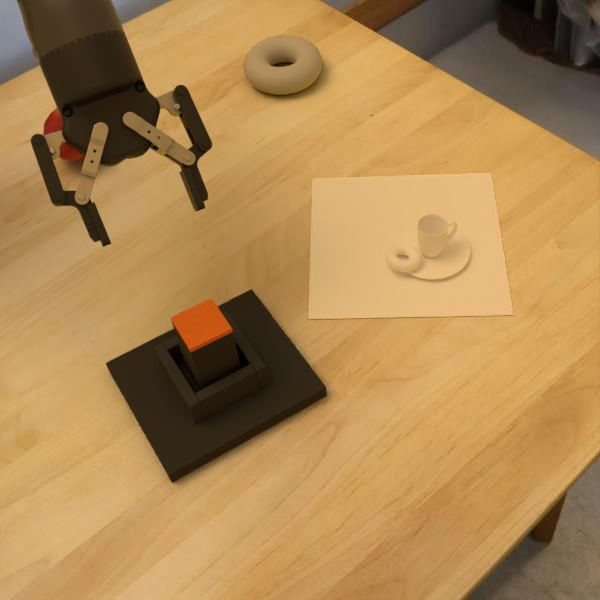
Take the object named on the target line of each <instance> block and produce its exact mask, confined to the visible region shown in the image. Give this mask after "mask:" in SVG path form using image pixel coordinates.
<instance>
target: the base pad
mask: <svg viewBox="0 0 600 600" xmlns="http://www.w3.org/2000/svg"><path fill="white" fill-rule="evenodd" d="M217 307H218V308H219V310H220V311H221V313H222V314H223V316H224V317H225V319H226V320H227V322H228V323H229V325H230V326H231V328H232V331H233V335H234V339H235V344H236V348H237V353H238V357H239V361H240V366H241V369H240V370H238V371H236V372H234V373H232V374H230V375H229V376H227V377H225V378H223V379H221V380H219V381H217V382H215V383H214V384H212V385H210V386H208V387H206V388H204V389H202V390H200V391H199V389H198V387H197V386H196V384H195V382H194V380H193V379H192V377H191V375H190V374H189V372H188V370H187V368H186V365H185V362H184V359H183V356H182V353H181V349H180V346H179V343H178V340H177V337H176V334H175V330H174V328H172V329H170V330H167V331H166V332H165V333H162V334H159V335H158V336H156V337H154V338H152V339H150V340H148V341H146V342H144V343H142V344H140V345H138V346H136V347H134V348H132V349H131V350H129V351H126V352H124V353H122V354H120V355H118V356H116V357H115V358H112V359H110V360H108V361H106V362H105V365H106V368H107V370H108V372H109V374H110V376H111V377H112V379H113V381H114V383H115V384H116V386H117V388H118V390H119V391H120V393H121V395H122V397H123V399H124V400H125V402H126V404H127V406H128V408H129V409H130V411H131V413H132V415H133V416H134V418H135V420H136V421H137V423H138V425H139V427H140V429H141V431H142V432H143V434H144V437H146V439H147V441H148V443H149V445H150V447H151V448H152V450H153V452H154V454H155V456H156V458H157V459H158V461H159V462H160V464H161V466H162V468H163V470H164V472H165V473H166V475H167V476H168V479H169V480H170V482H171V483H174V482H177V481H178V480H179V479H181V478H183V477H185V476H187V475H188V474H190V473H192V472H194V471H196V470H198V469H199V468H201V467H203V466H204V465H206V464H208V463H210V462H212V461H213V460H215V459H217V458H219V457H221V456H222V455H224V454H226V453H228V452H230V451H231V450H233V449H235V448H237V447H238V446H240V445H242V444H244V443H246V442H248V441H249V440H251V439H252V438H255V437H256V436H258V435H260V434H261V433H264V432H265V431H267V430H268V429H270V428H272V427H274V426H276V425H278V424H279V423H281V422H283V421H284V420H286V419H288V418H290V417H292V416H293V415H295V414H297V413H299V412H301V411H303V410H305V409H306V408H308V407H309V406H311V405H314V404H315V403H317V402H318V401H320V400H322V399H324V398H326V397H327V396H328V393H327V386H326V384H324V382H323V380H322V379H320V377H319V376H318V374H317V373H316V372H315V370H314V368H312V366H311V365H310V364H309V362H308V361H307V359H306V358H305V357H304V356H303V354H302V353H301V352H300V350H299V349H298V348H297V347H296V345H295V344H294V343H293V341H292V340H291V339H290V337H289V336H288V334H287V333H286V332H285V331H284V329H283V328H282V326H280V324H279V323H278V321H277V320H276V319H275V317H274V316H273V315H272V313H271V312H270V311H269V310H268V308H267V306H266V305H265V304H264V303H263V301H262V299H260V298H259V296H258V295H257V294H256V293H255V291H254V290H253V289H249V290H247V291H245V292H243V293H241V294H239V295H237V296H234V297H233V298H231V299H228V300H227V301H225V302H223V303H221V304H219V305H217Z"/></svg>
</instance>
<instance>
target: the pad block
mask: <svg viewBox="0 0 600 600" xmlns="http://www.w3.org/2000/svg"><path fill="white" fill-rule="evenodd" d="M217 306H218V305H217V304H216V302H215V301H214V299H213V298H212V297H211V298H208V299H207V300H204V301H202V302H200V303H198V304H196V305H193V306H192V307H189V308H188V309H186V310H183V311H181V312H179V313H177V314H175V315H173V316H171V317H170V320H171V324H172V327H173V329H174V330H175V334H176V337H177V340H178V343H179V346H180V349H181V353H182V356H183V359H184V362H185V365H186V368H187V370H188V372H189V374H190V375H191V377H192V379H193V380H194V382H195V384H196V386H197V387H198V389H199V391H200V390H202V389H204V388H206V387H208V386H210V385H212V384H214V383H215V382H217V381H219V380H221V379H223V378H225V377H227V376H229V375H230V374H232V373H234V372H236V371H238V370H240V369H241V366H240V361H239V357H238V353H237V348H236V344H235V339H234V335H233V331H232V328H231V326H230V325H229V323H228V322H227V320H226V319H225V317H224V316H223V314H222V313H221V311H220V310H219V308H218V307H217Z"/></svg>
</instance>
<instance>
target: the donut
mask: <svg viewBox="0 0 600 600" xmlns="http://www.w3.org/2000/svg"><path fill="white" fill-rule="evenodd" d="M280 63H291V64H289V65H285V66H274V65H277V64H280ZM322 68H323V57H322V55H321V52H320V50H319V48H318V47H317V46H316V45H315V44H314V43H313V42H311V41H310V40H308V39H306V38H304V37H301V36H297V35H292V34H279V35H278V34H277V35H274V36H273V35H272V36H270V37H267V38H264V39H261V40H260V41H258V42H257V43H256V44H254V45H252V47H250V49H249V51H248V52H247V53H246V55H245V57H244V60H243V70H244V74H245V78H246V80H247V81H248V82H249V83H250V84H251V86H253V87H254V88H255V89H257V90H259V91H260V92H263V93H265V94H266V93H267V94H269V95H274V96H275V95H279V96H280V95H281V96H283V95H285V96H286V95H291V94H297V93H299V92H301V91H304V90H306V89H307V88H308V87H310V86H311V85H313V83H315V82H316V81H317V79H318V77H319V76H320V75H321V73H322Z"/></svg>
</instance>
